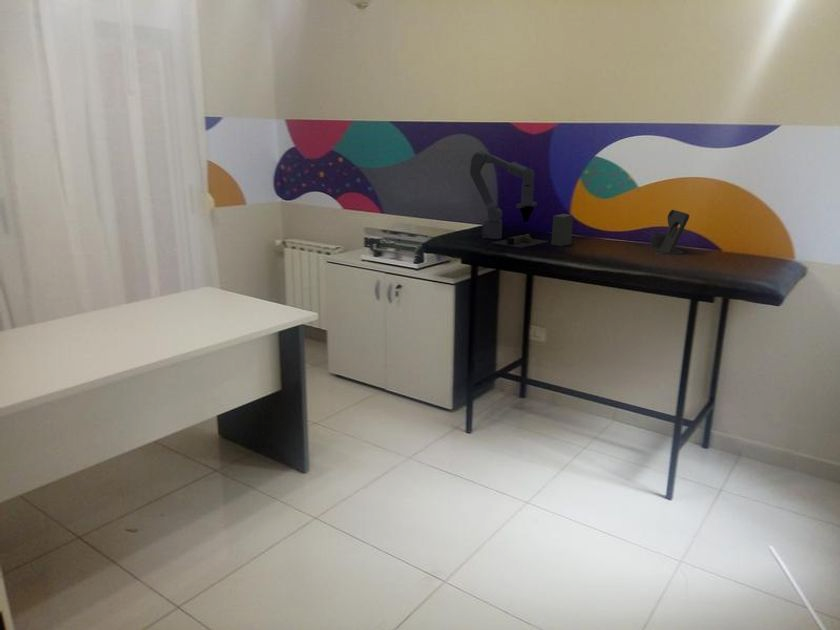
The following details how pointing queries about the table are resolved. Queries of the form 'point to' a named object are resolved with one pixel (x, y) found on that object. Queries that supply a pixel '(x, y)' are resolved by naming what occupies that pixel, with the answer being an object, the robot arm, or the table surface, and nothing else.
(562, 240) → the skincare box
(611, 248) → the table surface
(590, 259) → the table surface
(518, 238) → the bar
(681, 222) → the phone holder
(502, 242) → the mat
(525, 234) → the tongs fixed
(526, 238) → the block
